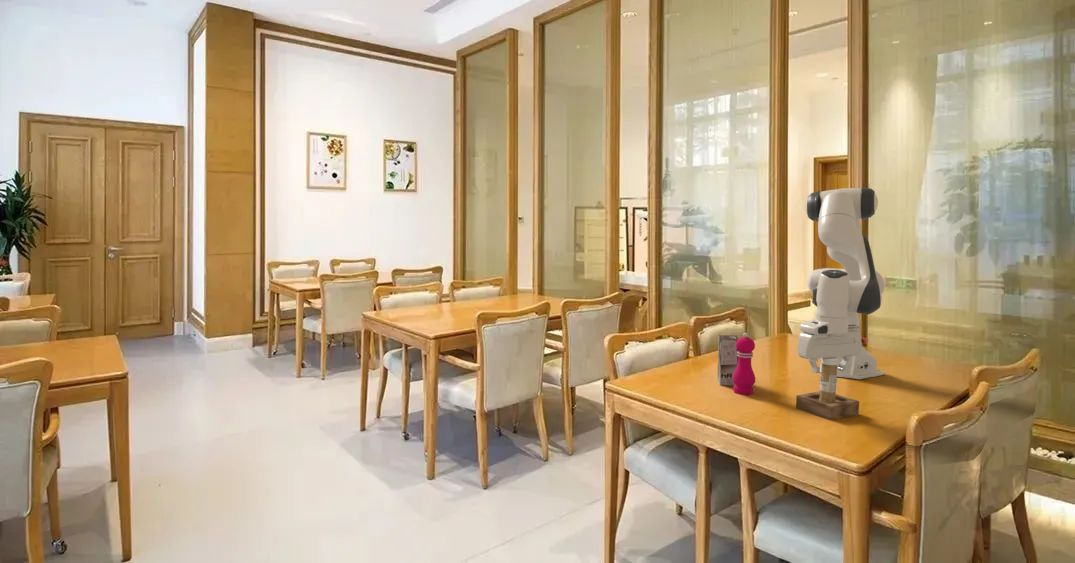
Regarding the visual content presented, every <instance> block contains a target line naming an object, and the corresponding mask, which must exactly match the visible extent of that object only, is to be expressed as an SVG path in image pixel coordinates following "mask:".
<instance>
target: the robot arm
mask: <svg viewBox="0 0 1075 563" xmlns="http://www.w3.org/2000/svg"><path fill="white" fill-rule="evenodd" d="M804 206H805V207H804V208H805V209H804V210H805V213H806V215H807V218H808V219H809V220H810V221H814V222H818V223H817V232H818V238H819V240H820V242H821V243H822V244H824V246H825V247H826V252H827V255H828V257H829V258H830V259H831V260H833V261H834V262H837V263H838V264H840V265H841V266H842V268H829V267H826V268H825V267H824V268H818V269H814V270H813V271H811V272H810V273H809V275H808V278H807V287H808V289H809V291H810V293H811V294H812V300H811V302H812V304H813V305H814V306H815V307H816V311H815V317H814V318H811V319H810V320H808V321H805V322H803V323H801V324H800V325H799V330H800V331H801V333H800V334H799V335H798V341H797V354H798V356H799V357H800V358H801V359H805V360H808V362H809V364H810V366H811V373H814V374H819V373H820V374H821V367H822V364H821V363H820V364H819V365H820V366H818V364H817V362H818V360H819V359H821V358H830V357H836V358H838V365H837V378H838V377H839V378H848V379H854V380H855V379H856V380H863V379H868V378H875V377H879V376H883V375H885V374H884V373H885V372H884V371H883V370H880V369H878V368H877V366H878V365H877V358H876V356H874V355H873V354H871V353H870V352H869V351H868V350H867V349H865V348H864V347H863V344H868V343H869V338H866V337H862V335H861V327H860V326H861V324H860V322H861V319H860V315H859V314H861V315H868V316H869V315H871V314H873V313H874V312H876V311H879V309H880V308H881V305H882V303H883V302H882V300H883V294H884V291H885V289H886V282H885V279H884V277H883V276H882V274H880V272H877V271H876V268H875V262H874V258H873V252H872V249H871V245H870V241H869V239H868V238H867V235H864V234H862V228H861V220H866V219H870V218H872V217H873V216H874V215H875V214H876V211H877V209H878V206H879V200H878V196H877V194H876V192H875V190H874V189H872V188H871V187H870V188H869V187H861V188H859V187H858V188H857V187H844V188H838V189H837V188H836V189H835V188H834V189H829V190H824V191H820V190H818V191H814V192H811V193H810V194H809V195H808V196H807V199H806V202H805V205H804ZM860 219H861V220H860Z"/></svg>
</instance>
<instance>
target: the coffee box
mask: <svg viewBox="0 0 1075 563" xmlns="http://www.w3.org/2000/svg"><path fill="white" fill-rule="evenodd" d="M738 339H739V336H738V335H734V334H733V335H730V334H729V335H727V334H725V335H722V334H719V335H718V344H717V345H718V347H717V348H718V349H717V350H718V352H717V380H718V384H719V386H732V387H734V385H735V383H734V382H733V380H732V378H733V374H734V371H735V369H736V367H737V365H738V356H737V351H738V350H737V348H736V341H737V340H738Z"/></svg>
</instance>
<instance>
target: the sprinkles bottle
mask: <svg viewBox="0 0 1075 563" xmlns="http://www.w3.org/2000/svg"><path fill="white" fill-rule="evenodd" d="M821 364H822V367H821V372H820V382H819V391H820V398H819V400H820V401H823V402H826V403H835V402H836V400H835V394H836V392H837V382H838V381H837V380H838V377H837V365H838V358H836V357H830V358H820V365H821Z"/></svg>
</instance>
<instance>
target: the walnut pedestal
mask: <svg viewBox="0 0 1075 563" xmlns="http://www.w3.org/2000/svg"><path fill="white" fill-rule="evenodd" d="M819 398H820V390H819V391H814V392H808V393H803V394H797V395H796V401H795V402H796V403H795V408H796V409H797V410H800V411H803V412H806V413H809V414H811V415H815V416H817V417H819V418H820V417H821V418H823V419H826V420H829V421H834V420H839V419H843V418H847V417H853V416H857V415H858V416H859V414H860V413H859V412H860V400H856V399H853V398H850V397H847V396H843V395H839V394H835V400H836V402H835V403H826V402H823V401H820V400H819Z"/></svg>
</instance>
